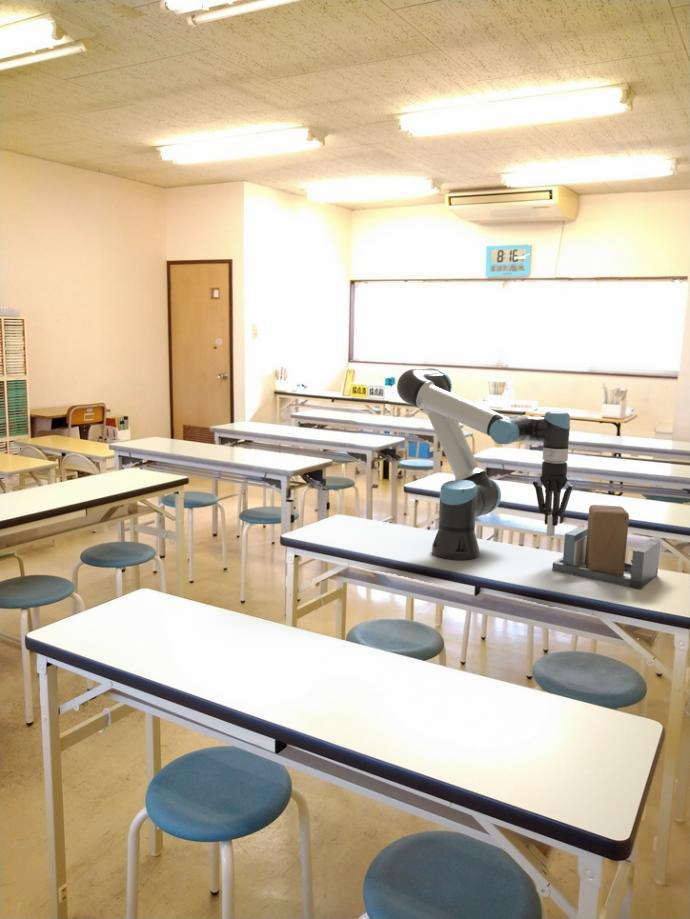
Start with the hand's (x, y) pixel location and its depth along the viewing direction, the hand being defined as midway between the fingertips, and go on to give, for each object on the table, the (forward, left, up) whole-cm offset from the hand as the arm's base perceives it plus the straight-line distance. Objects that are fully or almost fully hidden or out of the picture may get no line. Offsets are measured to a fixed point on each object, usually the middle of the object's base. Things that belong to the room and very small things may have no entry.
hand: (550, 535), depth 227 cm
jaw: (+8, 0, -8) cm, 12 cm away
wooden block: (+17, 0, -9) cm, 19 cm away
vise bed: (+18, 0, -9) cm, 20 cm away
